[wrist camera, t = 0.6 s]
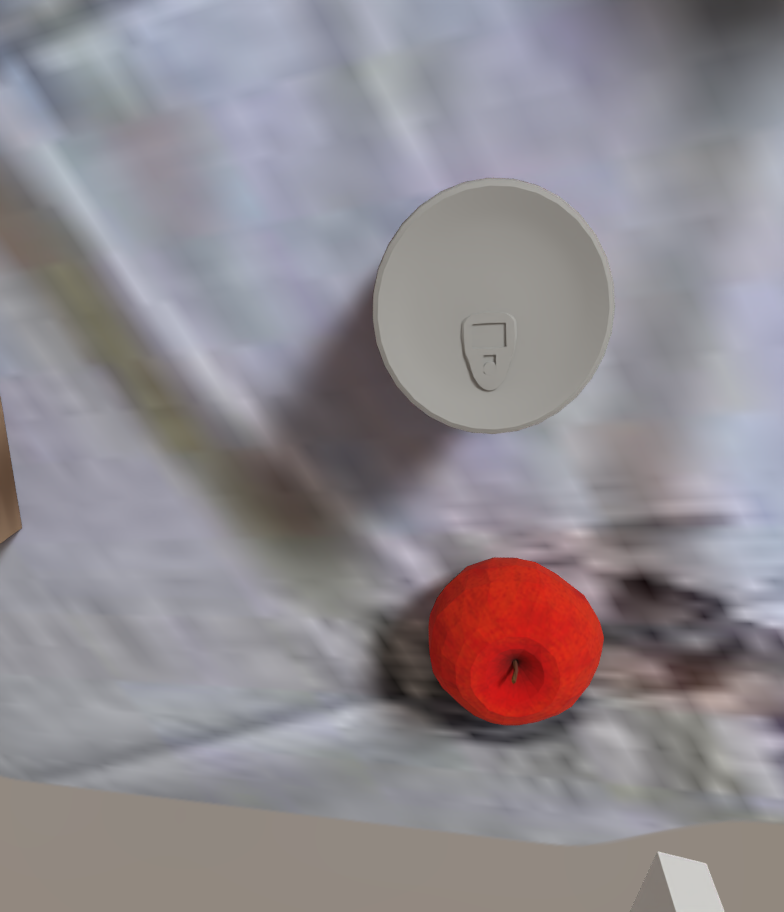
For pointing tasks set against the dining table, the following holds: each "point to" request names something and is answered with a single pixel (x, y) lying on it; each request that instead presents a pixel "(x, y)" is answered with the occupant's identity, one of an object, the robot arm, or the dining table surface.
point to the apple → (513, 641)
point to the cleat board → (7, 488)
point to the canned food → (493, 305)
